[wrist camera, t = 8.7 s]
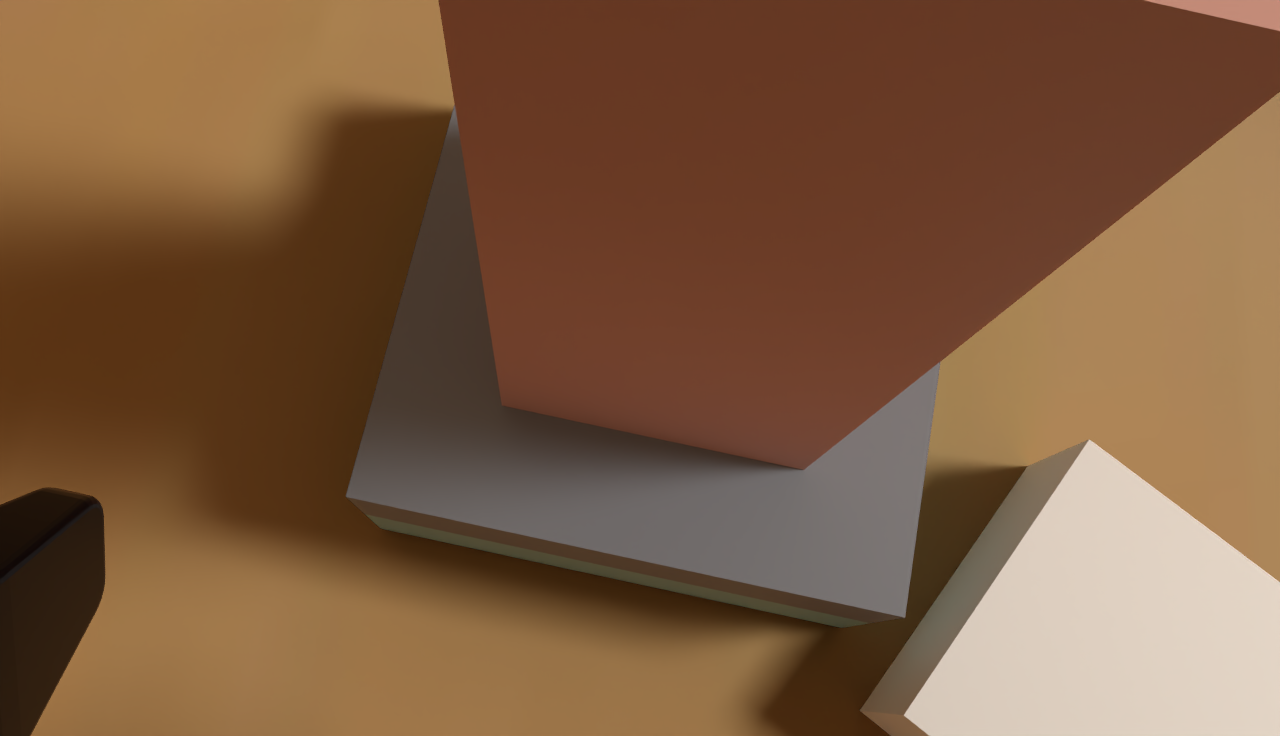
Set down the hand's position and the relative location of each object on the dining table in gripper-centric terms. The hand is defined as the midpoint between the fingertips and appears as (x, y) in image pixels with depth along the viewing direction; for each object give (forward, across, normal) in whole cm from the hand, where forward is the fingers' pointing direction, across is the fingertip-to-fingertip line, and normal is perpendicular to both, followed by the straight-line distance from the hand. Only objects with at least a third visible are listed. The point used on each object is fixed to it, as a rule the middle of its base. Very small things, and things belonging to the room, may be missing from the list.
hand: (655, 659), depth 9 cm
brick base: (+14, 0, +4) cm, 14 cm away
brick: (+11, -9, +8) cm, 16 cm away
